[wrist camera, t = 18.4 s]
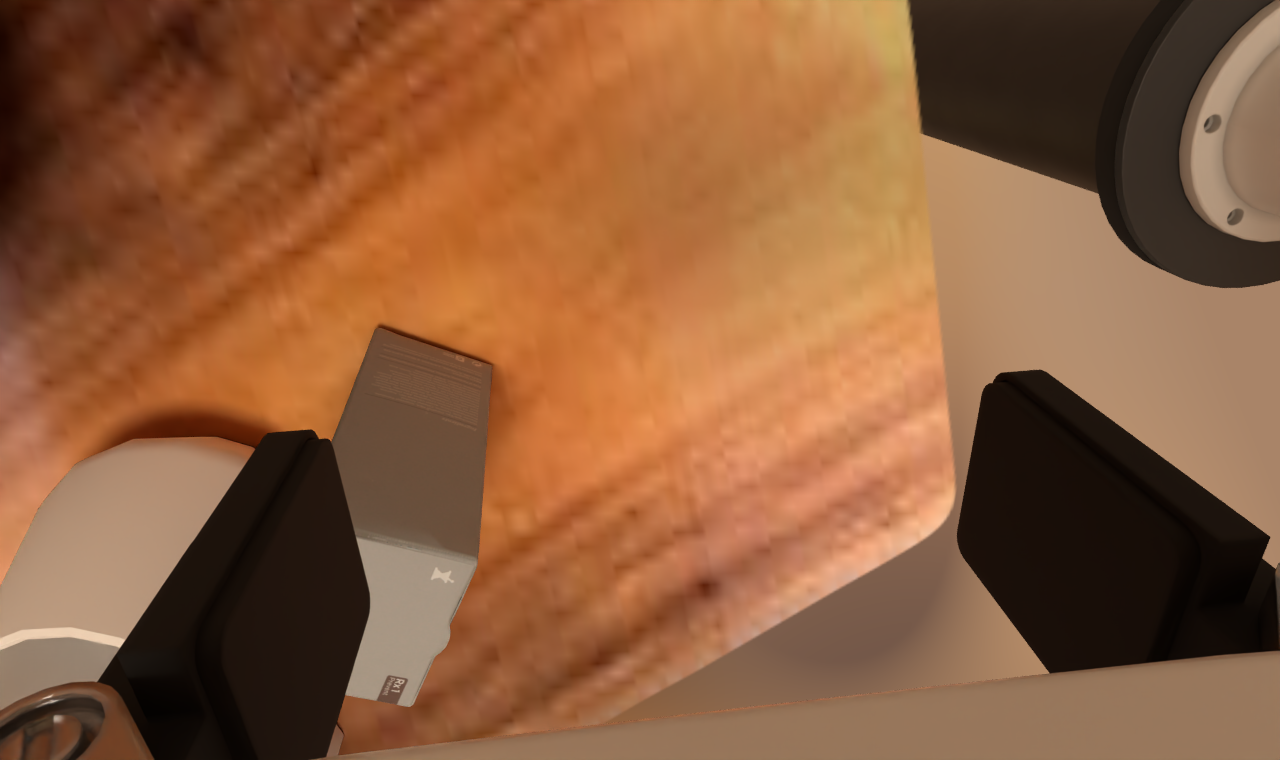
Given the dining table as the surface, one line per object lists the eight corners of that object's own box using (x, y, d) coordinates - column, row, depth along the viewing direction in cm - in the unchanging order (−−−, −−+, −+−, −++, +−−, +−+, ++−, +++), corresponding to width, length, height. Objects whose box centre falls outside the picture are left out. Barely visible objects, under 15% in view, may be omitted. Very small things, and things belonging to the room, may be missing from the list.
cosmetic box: (377, 321, 39) (276, 500, 25) (510, 368, 41) (487, 560, 27) (333, 453, 42) (220, 681, 28) (458, 491, 44) (413, 723, 30)
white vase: (349, 420, 41) (260, 599, 29) (336, 610, 47) (257, 829, 34) (74, 383, 39) (-154, 561, 26) (94, 588, 44) (-87, 816, 32)
